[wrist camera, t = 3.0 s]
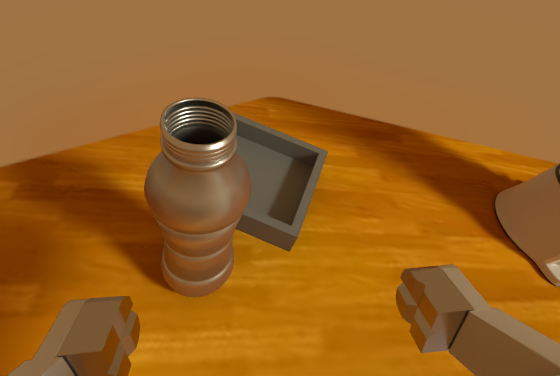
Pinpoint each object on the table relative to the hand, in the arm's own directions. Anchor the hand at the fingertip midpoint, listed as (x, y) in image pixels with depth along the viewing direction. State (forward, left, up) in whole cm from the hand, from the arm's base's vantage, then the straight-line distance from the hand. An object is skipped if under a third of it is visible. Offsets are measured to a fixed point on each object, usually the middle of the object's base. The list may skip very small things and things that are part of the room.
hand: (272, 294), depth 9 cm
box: (+5, -20, -21) cm, 30 cm away
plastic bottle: (+6, -7, -22) cm, 24 cm away
